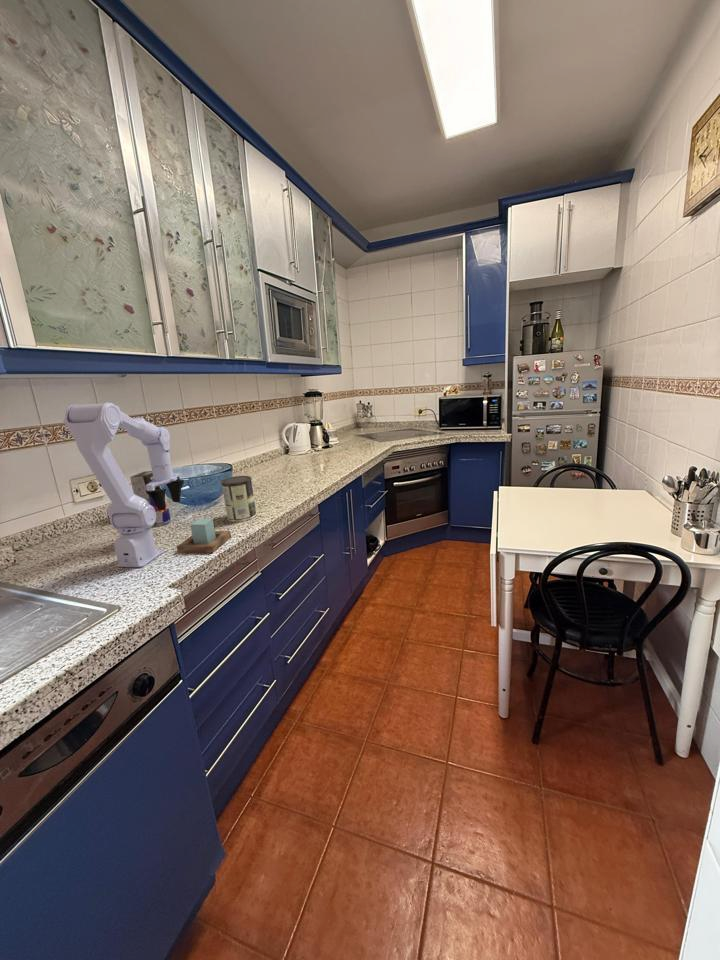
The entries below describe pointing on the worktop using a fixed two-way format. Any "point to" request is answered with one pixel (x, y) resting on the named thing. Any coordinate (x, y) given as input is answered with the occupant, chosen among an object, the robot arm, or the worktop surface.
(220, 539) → the brown flat square frame
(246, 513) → the coffee can
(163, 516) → the energy drink
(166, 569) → the worktop surface
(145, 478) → the coffee box
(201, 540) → the peg
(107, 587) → the worktop surface
